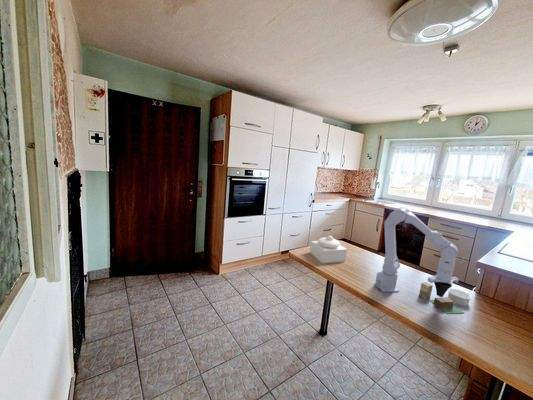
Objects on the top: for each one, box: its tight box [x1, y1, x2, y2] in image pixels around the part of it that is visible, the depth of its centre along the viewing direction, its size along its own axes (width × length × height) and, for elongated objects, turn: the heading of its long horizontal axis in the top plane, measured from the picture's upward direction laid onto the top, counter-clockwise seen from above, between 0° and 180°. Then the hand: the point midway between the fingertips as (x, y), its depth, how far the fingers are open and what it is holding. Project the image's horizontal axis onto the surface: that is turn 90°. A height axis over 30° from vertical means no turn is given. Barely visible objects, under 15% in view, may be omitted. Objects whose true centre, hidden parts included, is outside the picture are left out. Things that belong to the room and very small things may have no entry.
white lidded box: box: [309, 235, 349, 264], centre depth 159 cm, size 18×18×16 cm
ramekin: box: [447, 288, 472, 307], centre depth 117 cm, size 9×9×4 cm
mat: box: [429, 299, 465, 315], centre depth 111 cm, size 9×10×1 cm
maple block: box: [418, 281, 434, 300], centre depth 118 cm, size 4×4×7 cm
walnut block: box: [433, 296, 455, 310], centre depth 111 cm, size 4×4×7 cm
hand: (439, 295), depth 110 cm, fingers closed
